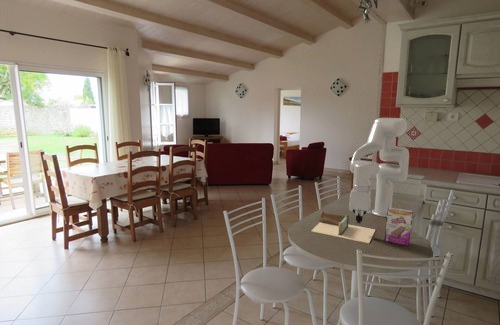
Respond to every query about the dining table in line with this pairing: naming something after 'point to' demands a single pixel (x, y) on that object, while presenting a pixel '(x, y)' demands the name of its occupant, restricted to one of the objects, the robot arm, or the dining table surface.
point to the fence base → (332, 218)
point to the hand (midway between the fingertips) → (358, 222)
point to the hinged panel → (342, 225)
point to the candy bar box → (398, 226)
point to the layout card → (346, 232)
